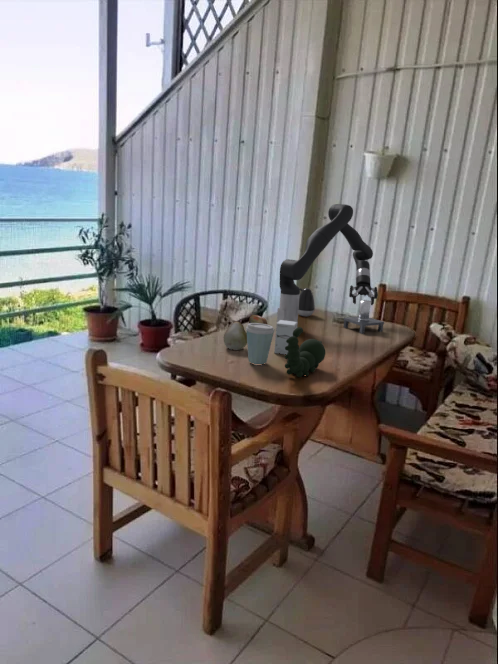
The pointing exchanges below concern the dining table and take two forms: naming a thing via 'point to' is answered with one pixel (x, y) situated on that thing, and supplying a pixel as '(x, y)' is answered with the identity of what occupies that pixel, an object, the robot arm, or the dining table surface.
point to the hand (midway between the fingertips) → (363, 303)
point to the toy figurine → (303, 354)
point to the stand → (363, 323)
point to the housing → (364, 310)
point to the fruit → (235, 336)
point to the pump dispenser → (306, 302)
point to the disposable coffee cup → (259, 342)
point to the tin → (257, 319)
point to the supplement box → (283, 335)
